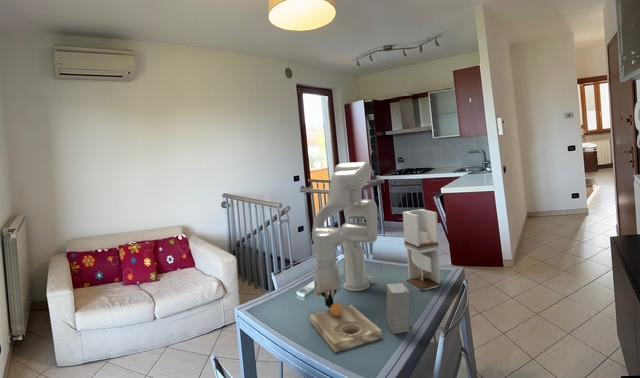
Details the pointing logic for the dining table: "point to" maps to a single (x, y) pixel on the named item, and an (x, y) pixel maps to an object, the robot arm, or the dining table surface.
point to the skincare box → (397, 308)
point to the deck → (345, 328)
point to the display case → (422, 248)
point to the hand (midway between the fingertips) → (329, 306)
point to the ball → (336, 309)
